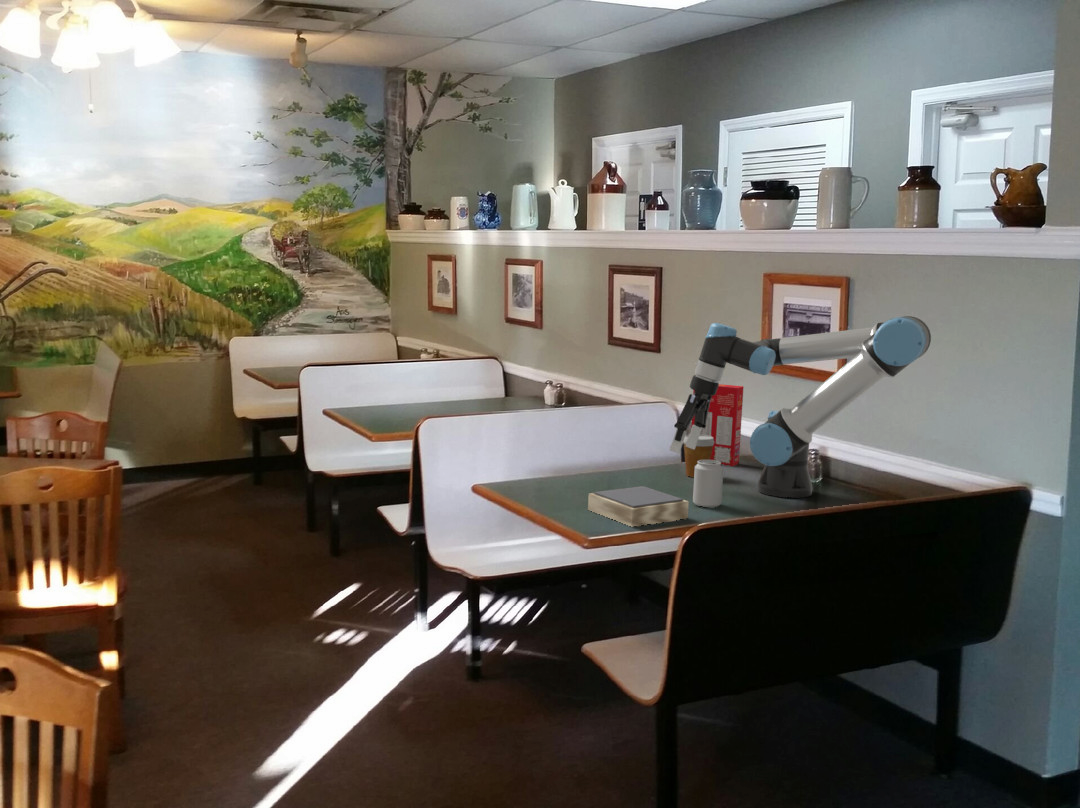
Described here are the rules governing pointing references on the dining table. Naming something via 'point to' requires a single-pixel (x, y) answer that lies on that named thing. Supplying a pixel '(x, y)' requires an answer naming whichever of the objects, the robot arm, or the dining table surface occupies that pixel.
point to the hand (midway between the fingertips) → (682, 449)
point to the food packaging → (725, 423)
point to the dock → (638, 506)
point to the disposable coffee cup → (697, 452)
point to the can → (708, 483)
